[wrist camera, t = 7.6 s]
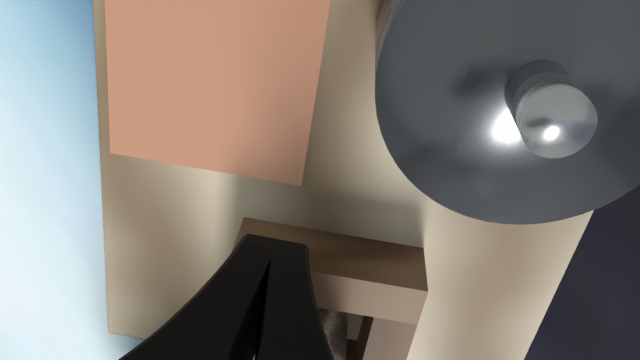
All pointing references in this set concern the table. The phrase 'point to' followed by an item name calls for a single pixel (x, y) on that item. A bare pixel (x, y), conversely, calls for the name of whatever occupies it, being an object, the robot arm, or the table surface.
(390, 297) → the socket block
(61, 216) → the table surface
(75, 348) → the table surface
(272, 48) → the tile
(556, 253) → the board
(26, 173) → the table surface
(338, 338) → the key peg
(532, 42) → the grey cylinder with handle
